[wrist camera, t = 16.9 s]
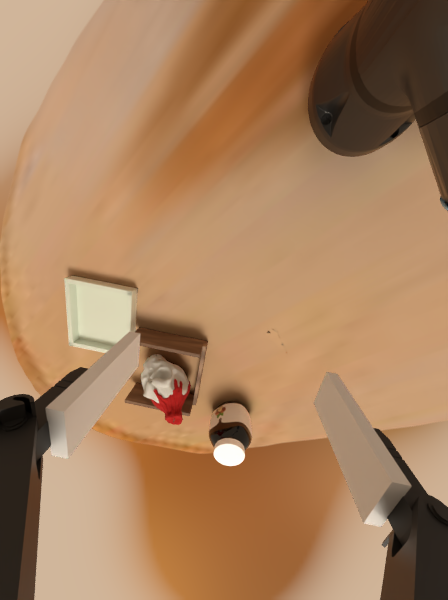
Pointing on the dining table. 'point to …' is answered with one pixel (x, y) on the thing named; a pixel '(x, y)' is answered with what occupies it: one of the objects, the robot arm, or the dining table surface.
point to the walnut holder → (176, 346)
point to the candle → (165, 386)
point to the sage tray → (98, 312)
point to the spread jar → (230, 433)
